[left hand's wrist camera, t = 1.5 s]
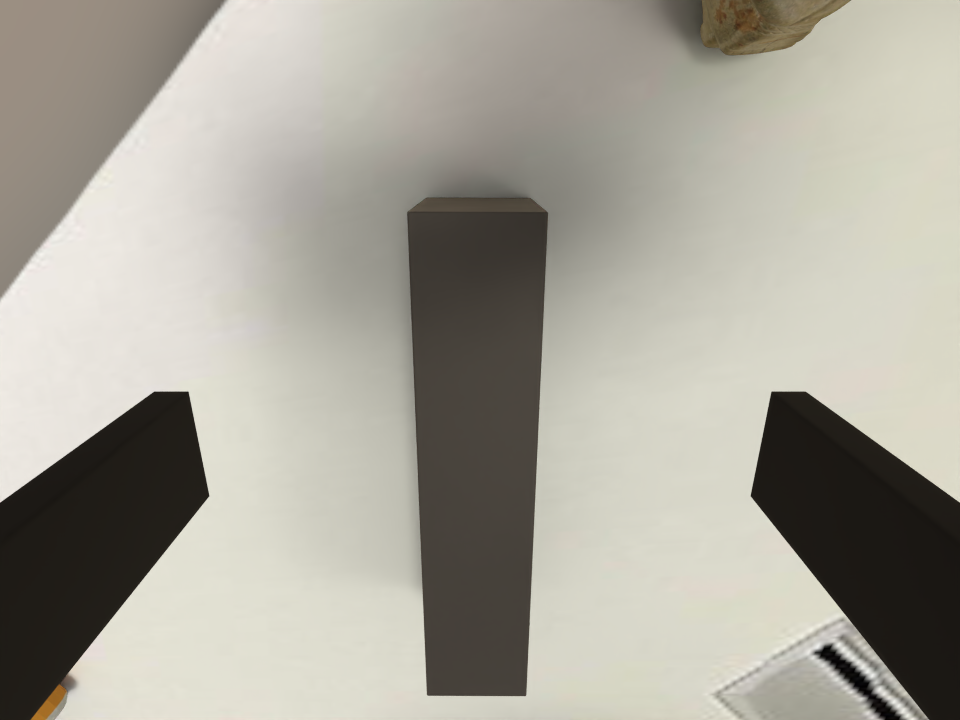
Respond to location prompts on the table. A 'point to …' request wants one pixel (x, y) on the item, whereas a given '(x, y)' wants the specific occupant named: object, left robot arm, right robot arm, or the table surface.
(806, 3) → the sculpture
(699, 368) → the table surface
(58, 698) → the spray gun
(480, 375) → the bar
